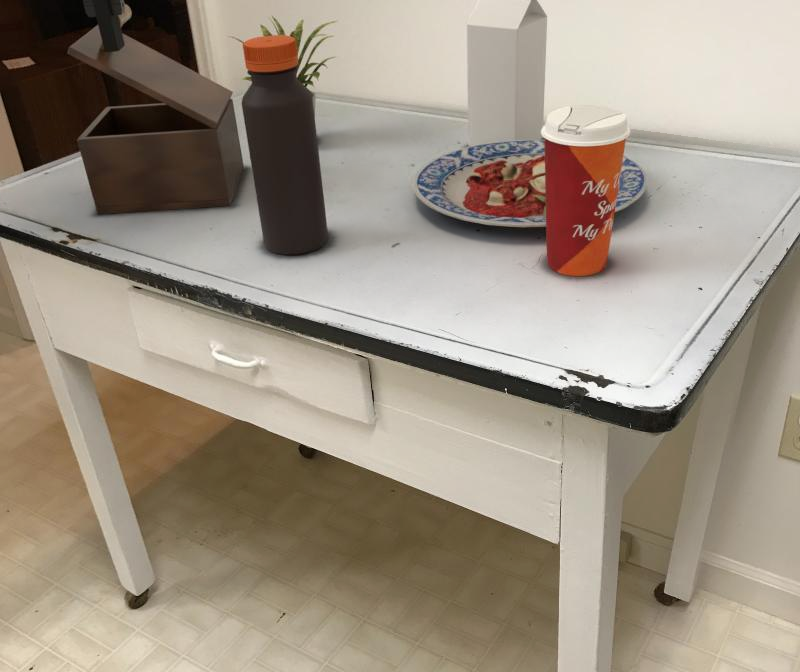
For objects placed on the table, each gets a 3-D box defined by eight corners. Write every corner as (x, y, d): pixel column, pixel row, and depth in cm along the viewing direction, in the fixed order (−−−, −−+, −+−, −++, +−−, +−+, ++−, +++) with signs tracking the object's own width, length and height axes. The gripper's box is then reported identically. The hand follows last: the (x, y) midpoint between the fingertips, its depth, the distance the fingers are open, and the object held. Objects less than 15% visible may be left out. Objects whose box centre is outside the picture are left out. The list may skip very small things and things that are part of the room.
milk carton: (515, 155, 108) (518, -9, 97) (467, 147, 111) (465, -13, 100) (543, 139, 112) (549, -20, 101) (496, 131, 116) (497, -23, 105)
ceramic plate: (405, 166, 107) (403, 142, 105) (609, 149, 107) (610, 125, 106) (424, 254, 86) (423, 226, 84) (678, 232, 86) (682, 204, 85)
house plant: (376, 134, 118) (367, 6, 108) (314, 166, 109) (298, 29, 99) (296, 122, 125) (281, 0, 115) (231, 151, 115) (209, 22, 106)
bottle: (258, 257, 87) (224, 51, 76) (270, 229, 93) (240, 34, 82) (324, 255, 87) (299, 47, 75) (332, 228, 92) (310, 30, 81)
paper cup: (596, 288, 78) (609, 135, 70) (521, 270, 81) (525, 123, 73) (631, 255, 83) (646, 108, 75) (558, 239, 87) (566, 98, 79)
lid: (66, 53, 89) (81, 7, 87) (99, 28, 100) (113, -14, 97) (214, 129, 94) (232, 87, 92) (230, 97, 105) (247, 59, 102)
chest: (97, 214, 100) (76, 139, 95) (123, 176, 110) (106, 106, 105) (230, 205, 99) (216, 130, 94) (244, 168, 110) (232, 98, 105)
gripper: (130, -228, 81) (182, 36, 94) (-6, -218, 81) (65, 44, 95) (110, -231, 75) (168, 52, 88) (-38, -220, 75) (43, 61, 89)
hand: (114, 48), depth 91 cm, fingers closed
